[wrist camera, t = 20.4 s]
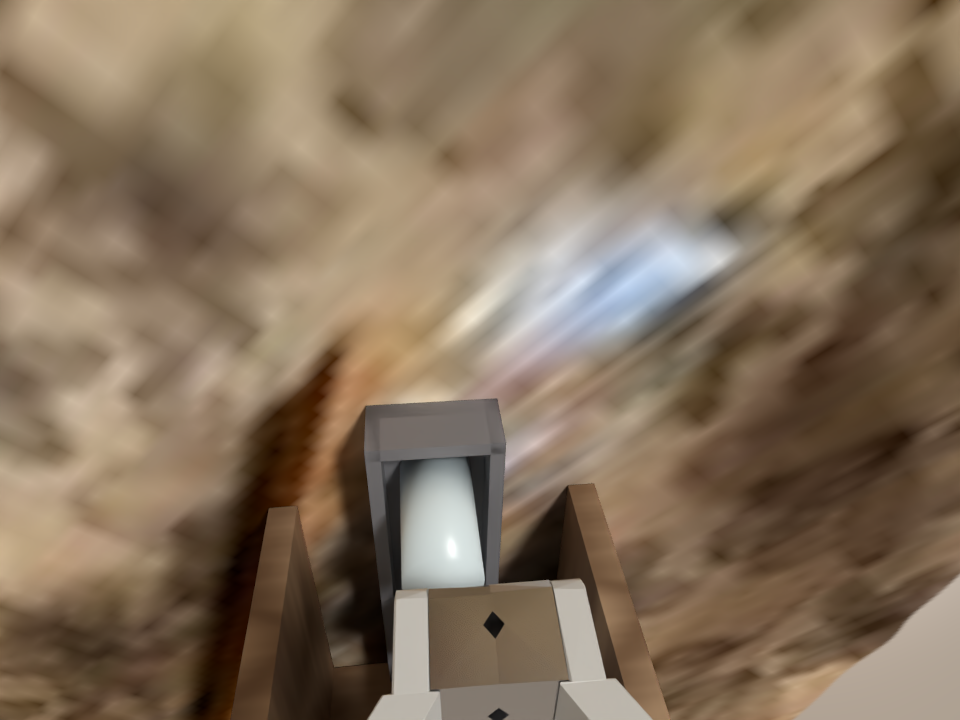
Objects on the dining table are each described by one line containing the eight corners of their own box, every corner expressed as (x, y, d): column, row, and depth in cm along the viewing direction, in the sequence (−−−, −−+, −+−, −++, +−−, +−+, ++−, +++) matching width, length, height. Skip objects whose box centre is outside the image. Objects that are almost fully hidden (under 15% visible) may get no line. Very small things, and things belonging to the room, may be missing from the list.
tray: (497, 398, 34) (522, 524, 28) (487, 626, 46) (503, 751, 40) (365, 405, 34) (360, 536, 27) (390, 635, 46) (390, 763, 39)
